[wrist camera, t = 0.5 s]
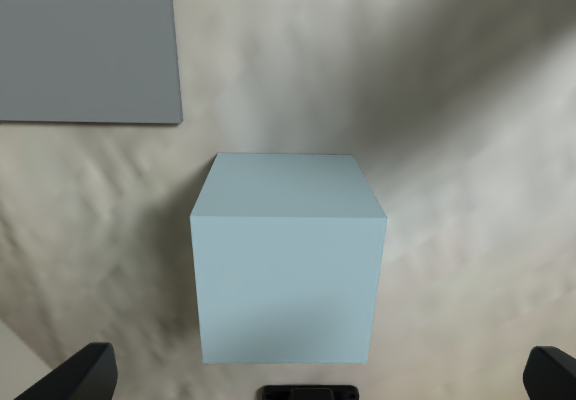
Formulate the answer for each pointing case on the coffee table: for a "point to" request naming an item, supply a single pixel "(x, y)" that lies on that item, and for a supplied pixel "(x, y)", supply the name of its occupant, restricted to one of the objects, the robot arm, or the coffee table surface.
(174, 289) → the coffee table surface
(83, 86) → the gray square plate
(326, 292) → the pale blue cube
